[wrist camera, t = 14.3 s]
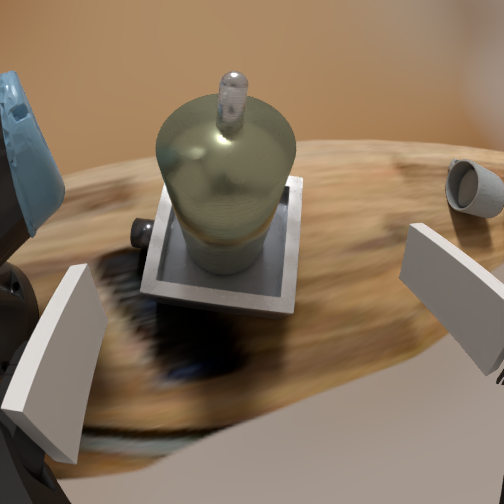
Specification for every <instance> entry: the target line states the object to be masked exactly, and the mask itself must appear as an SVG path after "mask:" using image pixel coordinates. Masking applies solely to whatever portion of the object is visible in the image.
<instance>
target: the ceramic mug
mask: <svg viewBox="0 0 504 504" xmlns="http://www.w3.org/2000/svg"><path fill="white" fill-rule="evenodd" d="M449 170H450V171H449V173H448V176H447V180H446V196H447V200H448V202H449V204H450V206H451V207H452V208H453V209H454V210H456V211H459V212H463V213H467V214H471V215H475V216H479V217H482V218H493V217H495V216H497V215H498V214H499V213H500V212H501V211H502V209H503V207H504V184H503V182H502V180H501V179H500V178H499V177H498V176H497V175H496V174H494V173H493V172H491V171H489V170H487V169H485V168H483V167H481V166H480V165H478V164H476V163H474V162H472V161H470V160H466V159H464V160H457V159H453V160H452V161H451V163H450V165H449Z"/></svg>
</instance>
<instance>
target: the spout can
mask: <svg viewBox="0 0 504 504" xmlns="http://www.w3.org/2000/svg"><path fill="white" fill-rule="evenodd" d="M247 91H248V80H247V78H246V77H245V76H244V75H243V74H242V73H240V72H236V71H233V72H228V73H226V74H225V75H224V76H223V77H222V78H221V80H220V85H219V93H218V94H211V95H206V96H202V97H199V98H196V99H194V100H192V101H189V102H187V103H186V104H184V105H182V106H181V107H179V108H178V109H177V110H175V111H174V112H173V113H172V114H171V115H170V116H169V117H168V118H167V120H166V121H165V122H164V124H163V125H162V127H161V129H160V131H159V134H158V137H157V140H156V157H157V161H158V165H159V168H160V171H161V174H162V177H163V180H164V183H165V186H166V189H167V192H168V195H169V198H170V201H171V203H172V206H173V209H174V212H175V215H176V218H177V220H178V223H179V226H180V229H181V232H182V234H183V237H184V240H185V243H186V245H187V248H188V251H189V253H190V255H191V257H192V258H193V260H194V261H195V262H196V263H197V264H198V265H199V266H200V267H202V268H203V269H205V270H207V271H209V272H212V273H215V274H221V275H229V274H235V273H238V272H241V271H243V270H245V269H246V268H248V267H249V266H250V265H252V264H253V263H254V262H255V260H256V259H257V258H258V256H259V254H260V252H261V250H262V247H263V244H264V242H265V239H266V236H267V234H268V231H269V228H270V225H271V223H272V220H273V217H274V215H275V212H276V209H277V207H278V204H279V201H280V198H281V196H282V193H283V190H284V187H285V185H286V182H287V179H288V177H289V174H290V171H291V168H292V166H293V163H294V159H295V155H296V141H295V136H294V133H293V131H292V129H291V127H290V125H289V123H288V122H287V120H286V119H285V118H284V117H283V116H282V115H281V113H279V112H278V111H277V110H276V109H275V108H273V107H272V106H270V105H269V104H267V103H265V102H263V101H261V100H259V99H256V98H254V97H250V96H247Z"/></svg>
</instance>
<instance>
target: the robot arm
mask: <svg viewBox="0 0 504 504" xmlns="http://www.w3.org/2000/svg"><path fill="white" fill-rule="evenodd" d="M64 195H65V186H64V182H63V179H62V177H61V174H60V172H59V170H58V168H57V166H56V163H55V161H54V159H53V157H52V155H51V152H50V150H49V148H48V146H47V144H46V141H45V139H44V137H43V135H42V132H41V130H40V128H39V126H38V123H37V121H36V119H35V116H34V114H33V111H32V109H31V107H30V104H29V102H28V99H27V97H26V94H25V92H24V90H23V87H22V85H21V83H20V80H19V78H18V75H17V73H16V72H15V71H9V72H7V73H2V74H1V75H0V380H2V381H1V384H0V504H71V503H70V501H69V500H68V498H67V497H66V495H65V493H64V492H63V490H62V489H61V487H60V485H59V484H58V482H57V480H56V478H55V477H54V475H53V473H52V471H51V469H50V468H49V466H48V465H47V464H46V463H45V461H44V456H45V453H46V454H47V455H49V456H50V457H51V458H52V459H53V460H55V461H56V462H62V463H69V464H76V465H77V458H78V451H79V445H80V439H81V433H82V427H83V421H84V416H85V411H86V406H87V401H88V397H89V392H90V387H91V383H92V379H93V375H94V371H95V366H96V363H97V359H98V355H99V351H100V347H101V344H102V340H103V336H104V333H105V329H106V326H107V323H108V319H107V316H106V314H105V311H104V309H103V306H102V303H101V301H100V298H99V295H98V293H97V290H96V287H95V284H94V281H93V279H92V276H91V273H90V270H89V267H88V264H80V265H73V266H70V268H69V269H68V271H67V273H66V274H65V276H64V278H63V279H62V281H61V283H60V284H59V286H58V288H57V289H56V291H55V293H54V295H53V296H52V298H51V300H50V302H49V303H48V305H47V307H46V309H45V311H44V313H43V314H42V316H41V318H40V320H39V315H38V306H37V301H36V297H35V294H34V291H33V288H32V286H31V284H30V282H29V280H28V278H27V277H26V275H25V274H24V273H23V272H22V271H21V270H20V269H19V268H18V267H17V266H15V265H13V264H11V263H9V262H7V260H8V259H9V258H10V257H11V256H12V254H13V253H14V252H15V251H16V250H17V249H18V248H19V247H21V246H22V245H23V244H24V243H25V242H26V241H27V240H28V239H29V238H30V237H32V238H33V237H34V236H35V235H36V231H37V229H38V228H39V227H40V226H41V225H42V224H43V223H44V222H45V221H46V220H47V219H48V218H49V217H50V216H52V215H53V214H54V213H55V212H56V211H57V210H58V209H59V207H60V206H61V204H62V202H63V199H64ZM399 279H400V280H401V281H402V282H403V283H404V284H405V285H406V286H407V287H408V288H409V289H410V290H411V291H412V292H413V293H414V294H415V295H416V296H417V297H418V298H419V299H420V301H421V302H422V303H423V304H424V305H425V306H426V307H427V308H428V309H429V310H430V311H431V312H432V314H433V315H434V316H435V317H436V318H437V319H438V320H439V321H440V322H441V324H442V325H443V326H444V327H445V328H446V329H447V330H448V332H449V333H450V334H451V335H452V336H453V337H454V338H455V340H456V341H457V342H458V343H459V344H460V345H461V346H462V348H463V349H464V350H465V351H466V353H467V354H468V355H469V356H470V357H471V359H472V360H473V361H474V362H475V364H476V365H477V366H478V367H479V369H480V370H481V371H482V372H483V373H484V375H485V376H487V375H489V374H490V373H492V372H494V371H495V370H497V369H498V368H499V366H500V364H501V363H502V361H503V359H504V284H502V283H501V282H500V281H499V280H498V279H496V278H495V277H494V276H493V275H492V274H490V273H489V272H488V271H487V270H485V269H484V268H483V267H482V266H480V265H479V264H478V263H477V262H475V261H474V260H473V259H471V258H470V257H469V256H468V255H466V254H465V253H464V252H462V251H461V250H460V249H458V248H457V247H456V246H454V245H453V244H452V243H450V242H449V241H447V240H446V239H445V238H443V237H442V236H440V235H439V234H438V233H436V232H435V231H433V230H432V229H430V228H429V227H428V226H426V225H425V224H423V223H416V224H409V230H408V236H407V242H406V247H405V252H404V257H403V262H402V267H401V271H400V276H399ZM503 377H504V369H503V371H502V372H501V374H500V375H499V377H498V378H497V381H496V384H499V382H500V381H501V379H502V378H503ZM502 385H504V380H503V382H502ZM499 504H504V477H503V484H502V491H501V497H500V503H499Z"/></svg>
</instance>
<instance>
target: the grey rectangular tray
mask: <svg viewBox="0 0 504 504" xmlns="http://www.w3.org/2000/svg"><path fill="white" fill-rule="evenodd" d="M302 186H303V178H301V177H295V176H289V177H288V179H287V182H286V185H285V187H284V190H283V193H282V196H281V198H280V201H279V204H278V207H277V209H276V212H275V215H274V217H273V220H272V223H271V225H270V228H269V231H268V234H267V236H266V239H265V242H264V244H263V247H262V250H261V252H260V254H259V256H258V258H257V259H256V260H255V262H254V263H253V264H252V265H250V266H249V267H248V268H246V269H245V270H243V271H241V272H238V273H235V274H229V275H221V274H215V273H212V272H209V271H207V270H205V269H203V268H202V267H200V266H199V265H198V264H197V263H196V262H195V261H194V260H193V258H192V257H191V255H190V253H189V251H188V248H187V245H186V243H185V240H184V237H183V234H182V232H181V229H180V226H179V223H178V220H177V218H176V215H175V212H174V209H173V206H172V203H171V201H170V198H169V195H168V192H167V189H166V186H165V183H164V187H163V191H162V195H161V198H160V202H159V206H158V210H157V214H156V218H155V220H150V219H142V218H136V219H135V220H134V222H133V225H132V228H131V236H130V239H131V245H132V246H133V247H136V248H143V249H148V253H147V258H146V263H145V268H144V273H143V278H142V283H141V289H140V292H141V293H142V294H144V295H145V296H147V297H148V298H150V299H152V300H153V301H155V302H156V303H162V304H168V305H174V306H180V307H186V308H193V309H199V310H206V311H213V312H220V313H228V314H235V315H243V316H251V317H259V318H268V319H277V320H281V319H283V318H285V317H287V316H289V315H291V314H294V303H295V292H296V280H297V267H298V254H299V239H300V223H301V206H302Z"/></svg>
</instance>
